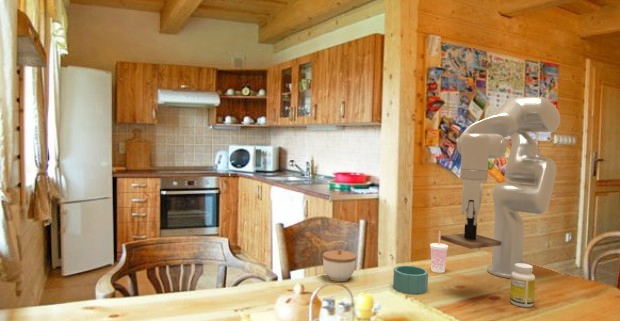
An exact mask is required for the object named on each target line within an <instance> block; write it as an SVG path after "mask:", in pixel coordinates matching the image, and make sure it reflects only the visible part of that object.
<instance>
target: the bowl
mask: <svg viewBox="0 0 620 321" xmlns="http://www.w3.org/2000/svg"><path fill="white" fill-rule="evenodd" d="M392 277H393V281H392V282H393V283H392V286H393V287H392V288H393V289H394V290H396V291H397V292H400V293H404V294H407V295H409V294H411V295H419V294H425V293H426V292H427V291H428V288H429V286H428V284H429V272H428V270H427V269H425V268H423V267H420V266H415V265H405V264H404V265H397V266H396V267H393V276H392Z"/></svg>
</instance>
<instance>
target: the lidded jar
mask: <svg viewBox="0 0 620 321" xmlns="http://www.w3.org/2000/svg"><path fill="white" fill-rule="evenodd" d="M356 260H357V255H356V254H355V253H353V252H352V251H347V250H342V249H341V248H339V249H337V250H328V251H325V252H323V254H322V264H323V269H324V272H325V274H326V275H327V276H328V278H329V279H330V280H332V281H335V282H345V281H348V280H349V278H351V277H352V276H353V274H354V272H355V269H356V265H357V264H356V263H357V262H356Z"/></svg>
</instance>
